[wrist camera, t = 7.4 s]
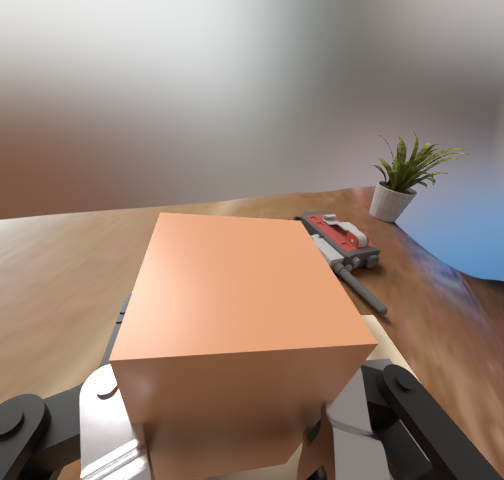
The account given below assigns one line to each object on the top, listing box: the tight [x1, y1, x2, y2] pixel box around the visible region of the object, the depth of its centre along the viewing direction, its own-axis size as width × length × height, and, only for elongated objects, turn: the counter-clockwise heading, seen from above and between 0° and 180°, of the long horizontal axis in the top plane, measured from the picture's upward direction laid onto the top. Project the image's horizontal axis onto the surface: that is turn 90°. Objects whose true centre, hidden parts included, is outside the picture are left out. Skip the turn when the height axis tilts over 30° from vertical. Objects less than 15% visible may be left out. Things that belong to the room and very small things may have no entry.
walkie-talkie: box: [294, 211, 387, 315], centre depth 32 cm, size 9×4×20 cm
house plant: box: [369, 134, 464, 222], centre depth 43 cm, size 14×14×16 cm
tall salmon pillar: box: [109, 213, 378, 480], centre depth 9 cm, size 5×5×9 cm
